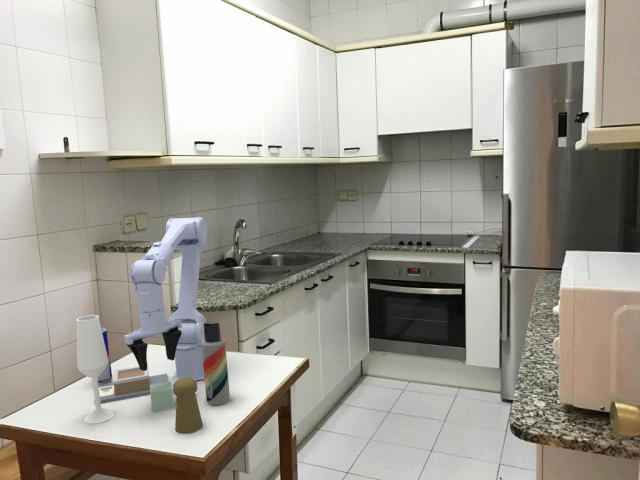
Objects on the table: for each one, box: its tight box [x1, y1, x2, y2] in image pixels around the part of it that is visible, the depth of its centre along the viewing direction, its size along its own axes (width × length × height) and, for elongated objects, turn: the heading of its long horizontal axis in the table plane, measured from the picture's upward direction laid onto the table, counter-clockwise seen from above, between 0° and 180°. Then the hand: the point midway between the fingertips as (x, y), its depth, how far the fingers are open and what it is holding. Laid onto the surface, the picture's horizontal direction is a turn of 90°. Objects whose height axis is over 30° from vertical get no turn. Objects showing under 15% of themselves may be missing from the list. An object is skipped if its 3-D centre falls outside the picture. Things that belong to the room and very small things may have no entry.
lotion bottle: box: [201, 321, 231, 406], centre depth 131 cm, size 6×6×20 cm
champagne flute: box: [75, 314, 115, 424], centre depth 126 cm, size 7×7×24 cm
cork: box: [172, 378, 204, 435], centre depth 119 cm, size 6×6×11 cm
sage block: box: [149, 380, 175, 413], centre depth 131 cm, size 5×5×5 cm
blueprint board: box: [93, 364, 169, 404], centre depth 142 cm, size 18×11×5 cm, turn 108°
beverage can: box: [97, 327, 113, 385], centre depth 147 cm, size 5×5×15 cm
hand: (157, 364), depth 130 cm, fingers open, 7 cm apart
